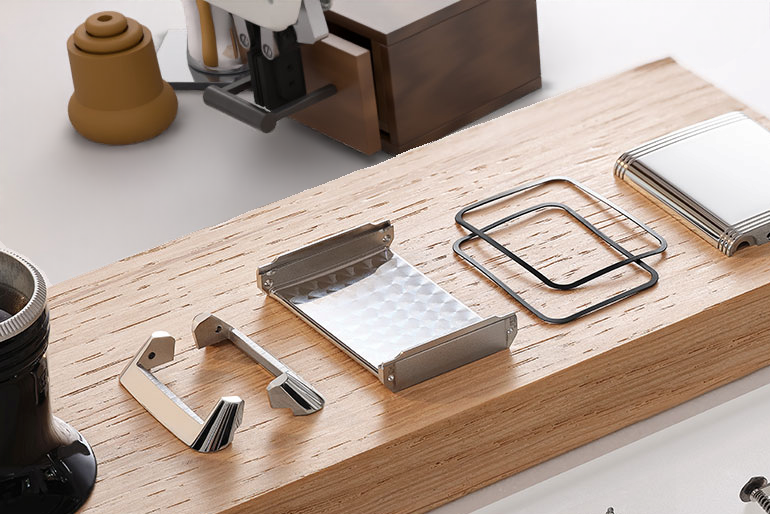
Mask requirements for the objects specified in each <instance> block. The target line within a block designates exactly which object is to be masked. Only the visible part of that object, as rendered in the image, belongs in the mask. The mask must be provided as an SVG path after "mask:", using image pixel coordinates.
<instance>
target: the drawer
mask: <svg viewBox="0 0 770 514" xmlns="http://www.w3.org/2000/svg"><path fill="white" fill-rule="evenodd" d="M325 21H326V24H327V27H328V31H329V36H328V37H327V38H325V39H323V40H321V41H319V42H316V43H314V44H305V45H304V46H302V47H300V49H301V56H302V63H303V70H304V77H305V84H306V91H307V93H306V95H305V96H302V97H300V98H298V99H296V100H294V101H292V102H290V103H287V104H285V105H283V106H281V107H279V108H277V109H275V110H272V111H269V110H267V109H266V108H265V109H264V108H263V107H261V106H259V105H257V104H255V103H252V102H250V101H248V100H246V99H244V98H242V97H240V96H238V95H239V94H241V93H243V92H245V91H249V90H248V89H250V88H252V84H251V77H250V76H247V77H245V78H243V79H241V80H239V81H236V82H234V83H232V84H230V85H227V86H225V87H223V88H219V87H217V86H214V85H211V86H209V87H207V88H206V89H205V90H204V91H203V93H202V101H203V103H204V104H205V105H206V106H208V107H209V108H213V109H215V110H216V111H218V112H220V113H223V114H225V115H226V116H228V117H230V118H233V120H236V121H239V122H240V123H242V124H244V125H247V126H249V127H251V128H253V129H255V130H256V131H259V132H261V133H263V134H266V135H267V134H271V133H273V131H275V129H276V127H277V124H278V122H280V121H281V120H284V119H286V118H290V119H292V120H294V121H296V122H298V123H300V124H302V125H303V126H306V127H308V128H310V129H312V130H315V131H317V132H318V133H320V134H323V135H325V136H327V137H329V138H331V139H334V140H335V141H338V142H339V143H341V144H344V145H345V146H347V147H350V148H352V149H354V150H356V151H357V152H361V153H363V154H364V155H367V156H371V155H374V154H375V153H377V152H379V151H381V149H382V148H381V140H380V132H379V129H381V130H383V131H385V132H388V133H390V131H389V123H388V115H387V106H386V98H385V89H384V81H383V72H382V64H381V55H380V47H379V44H380V43H378V42H376V41H373V40H371V39H369V38H367V37H364V36H362V35H360V34H357V33H355V32H353V31H351V30H348V29H346V28H344V27H342V26H339V25H337V24H335V23H332V22H330V21H328V20H326V19H325Z"/></svg>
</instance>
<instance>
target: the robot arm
mask: <svg viewBox="0 0 770 514" xmlns="http://www.w3.org/2000/svg"><path fill="white" fill-rule="evenodd" d="M204 1H206V2H208V3H210V4H213V5H215V6H217V7H219V8H221V9H223V10H226V11H228V13H229V14H230V16H231V17H232V19H233V20H234V23H235V27H236V31H237V35H238V39H239V42H240V44H241V45H242V47H243V48H245V49H250V51H248V52H246V53H247V59H248V65H249V71H250V77H251V84H252V90H251V91H252V95H253V102H254V105H256V106H258V107H260V108H265V110H267V111H269V112H270V111H272V110H275V109H277V108H279V107H281V106H283V105H285V104H287V103H290V102H292V101H294V100H296V99H298V98H300V97H302V96H305V95H306V93H307V91H306V84H305V77H304V70H303V63H302V56H301V49H300V47H302V46H304V45H305V44H314V43H316V42H319V41H321V40H323V39H325V38H327V37H328V36H329V31H328V27H327V24H326V21H325V17H324V14H323V11H327V10H329V9H331V7H332V4H333V0H204Z"/></svg>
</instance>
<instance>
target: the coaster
mask: <svg viewBox="0 0 770 514" xmlns="http://www.w3.org/2000/svg"><path fill="white" fill-rule="evenodd" d="M186 44H187V29H168V30H167V31H166V33H165V36H164V38H163V39H162V41H161V44H160V45H159V48H158V50H157V51H156V55H157V59H158V63H159V67H160V71H161V76H162V79H164V80H165V81H166V82H168V83H169V84H170V86H171V87H172V88H173V90H196V91H197V90H198V91H199V90H204V91H205V89H206V88H207V87H209V86H211V85H214V86H217V87H219V88H223V87H225V86H227V85H230V84H232V83H234V82H236V81H239V80H241V79H243V78H245V77H247V76H250V71H249V70H247V71H244V72H239V73H233V74H210V73H205V72H201V71H198V70H196V69H194V68H193V67H191V66H190V65H189V63H188V61H187V58H186ZM247 91H253V90H252V88H250V89H248V90H247Z"/></svg>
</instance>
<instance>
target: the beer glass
mask: <svg viewBox="0 0 770 514" xmlns="http://www.w3.org/2000/svg"><path fill="white" fill-rule="evenodd" d="M180 2H181V6H182V11H183V14H184V17H185V18H184V19H185V24H186V26H185V27H186V30H187V44H186V58H187V61H188V63H189V65H190V66H191V67H193V68H194V69H196V70H198V71H201V72H205V73H210V74H233V73H239V72H244V71H247V70H249V65H248V59H247V53H246V52H248V51H250V49H245V48H243V47H242V45H241V44H240V42H239V39H238V35H237V31H236V27H235V23H234V20H233V19H232V17H231V16H230V14H229V13H228V11H226V10H223V9H221V8H219V7H217V6H215V5H213V4H210V3H208V2H206V1H204V0H180Z"/></svg>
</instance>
